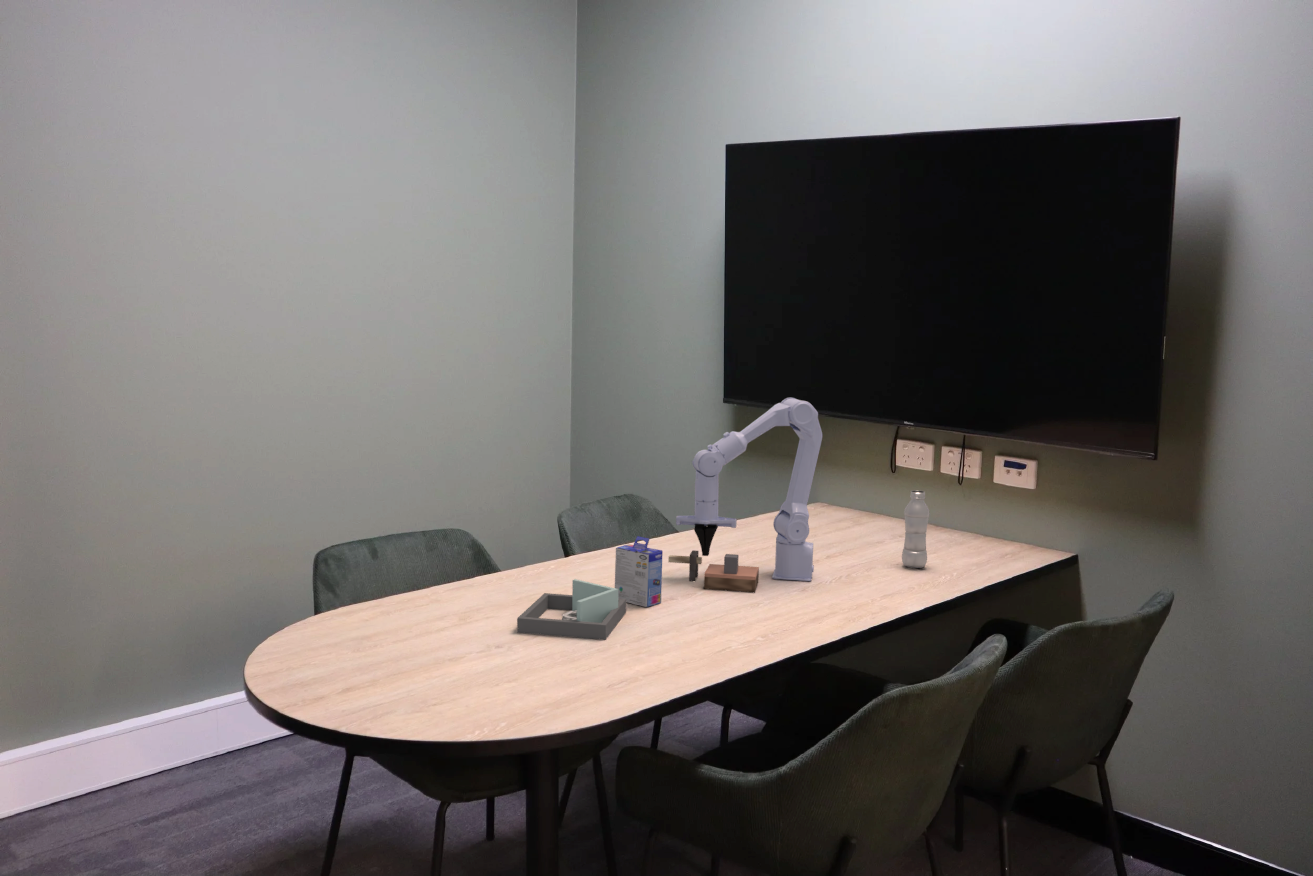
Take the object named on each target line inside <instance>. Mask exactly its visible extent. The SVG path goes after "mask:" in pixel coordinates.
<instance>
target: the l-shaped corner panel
mask: <svg viewBox="0 0 1313 876" xmlns="http://www.w3.org/2000/svg"><path fill="white" fill-rule="evenodd" d="M571 589H572V593H571V595H572V610H568V611H567V612H565V613H562V615H561V620H571V621H583V622H596V623H602V622H603V620H604V619H605V618H606V617H607V615H608V614H609V613H610V612H611V610H613V609H616V608H618V589H616V588H615V587H611V586H607V585H602V584H598V583H594V582H589V581H586V580H585V581H584V580H582V579H581V580H580V579H578V578H577V579H576V578H574V579H572V587H571Z"/></svg>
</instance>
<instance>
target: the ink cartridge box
mask: <svg viewBox="0 0 1313 876" xmlns="http://www.w3.org/2000/svg"><path fill="white" fill-rule="evenodd" d="M639 541H643V542H645V544H644V543H640V542H639ZM649 542H650V538H648V537H642V536H638V535H636V538H635V540H634V543H633V544H623V545H621V546H617V547H615V564H614V565H615V566H614V588H616V589H618V599H626V603H628V604H632V605H636V606H640V607H641V606H642V607H645V608H648V607H651V606H655V605H659V604H661V603H662V589H663V588H662V586H663V585H662V584H663V583H662V582H663V581H662V579H663V555H664V554H663V550H662V549H658V548H657V549H656V548H651V547H648V546H649Z"/></svg>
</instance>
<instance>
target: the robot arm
mask: <svg viewBox="0 0 1313 876" xmlns="http://www.w3.org/2000/svg"><path fill="white" fill-rule="evenodd" d="M774 427H791V428H792V430H793V431H794V432H795V434H796V435H797V437H798V438H799V441H798V445H797V450H796V454H795V457H794V463H793V468H792V471H791V476H790V481H789V484H788V490H787V493H786V497H785V500H784V501H783V503H782V504H781V505H780V509H779V512H778V513H777V514H776V516H775V517H774V519H773V529H774V531H775V532H776V533H777V535H776V537H775V559H774V560H775V563H774V570H773V573H772V577H771V578H772V579H775V580H785V581H786V580H787V581H804V582H812V578H813V573H814V571H815V566H814V565H813V564H814V542H809V541H806V539H807V538H808V537H809V534H810V525H809V519H810V513H809V509H808V501H809V497H810V493H811V490H812V489H811V488H812V484H813V480H814V475H815V471H816V468H817V462H818V459H819V458H818V457H819V453H820V449H821V445H822V442H823V441H822V440H823V432H822V431H823V430H822V428H821V425H820V421H819V412H818V411H817V409H816V408H815V407H814V405H812V404H811V403H810V402H809V401H806V400H801V399H797V398H795V397H786V398H784V399H783V400H782V401H781V402H778V403H775V404H774V405H773V406H772V407H770V408H769V409H768V410H767V411H765V412H764V413H763V414H762V415H760V416H759V417H758V418H757V419H755V420H754V421H752V422H751V423H750V424H749V425H747V426H746V427H744V428H743V429H742V430H741V431H733V430H732V431H730V432H729V431H726V432H724V433H723V437H722V438H720V439H718V440H717V441H716V442H714V443H713V444H708V445H707V446H706V447H707V449H702V450H699V451H697V452H696V454H695V455H694V457H693V460H692V461H691V462H692V463H691V464H692V467H693V469H694V470H695V479H694V480H695V481H694V515H676V517H675V522H676V523H675V525H676V526H681V525H684V526H685V525H686V526H687V525H688V526H694V528H693V530H694V533H695V535H696V537H697V539H698V542H699V544H700V548H701V557H708V556H710V548H711V545H712V542H713V539H714V537H715V535H716V532H717V530H718V528H719V527H721V528H722V527H724V528H732V529H735V528H736V527H737V525H738V524H737V520H738V519H737V518H732V517H724V516H723V517H722V516H719V494H720V493H719V490H720V489H719V488H720V487H719V485H720V484H719V483H720V481H719V476H720V473H721V472H722V470H723V466H726V465H727V464H729V463H730V462H732V461H733V460H734V459H736V458H737V457H738V456H740V455H742V454H743V453H745V452H746V451H747V447H748V444H749V443H750V442H753V441H754V440H756V439H757V438H759V437H760V436H761V435H763V434H765V433H767V432H768V431H770V430H771V429H773V428H774Z"/></svg>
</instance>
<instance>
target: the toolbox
mask: <svg viewBox="0 0 1313 876" xmlns="http://www.w3.org/2000/svg"><path fill="white" fill-rule="evenodd" d="M699 553H700V552H699V550H691V551H690V554H689V556H690V563H689V566H688V567H689V570H688V573H689V575H688V581H689V582H693V581H695V582H696V581H697V579H698V577H699V564H696V557H699ZM759 574H760V570H759V571H758V574H757V577H756V580H746V579H731V578H717V577H703V590H713V591H725V590H727V591H726V592H739V591H741V592H742V593H753V592H754V593H756V590H757V588H758V586H759V585H758V584H759V581H760V580H759V578H760V577H759ZM741 592H740V593H741ZM754 593H753V594H754Z"/></svg>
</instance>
